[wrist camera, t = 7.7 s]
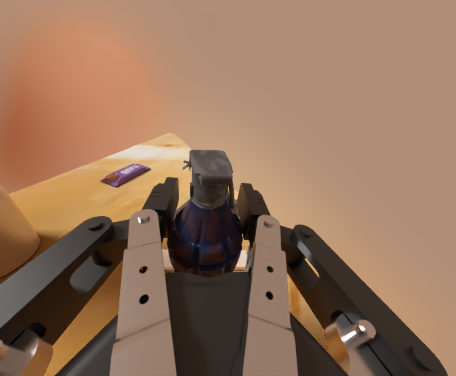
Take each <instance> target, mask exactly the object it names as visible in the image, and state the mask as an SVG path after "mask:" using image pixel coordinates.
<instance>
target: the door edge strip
mask: <svg viewBox="0 0 456 376" xmlns="http://www.w3.org/2000/svg"><path fill="white" fill-rule="evenodd" d="M162 252H163V261H164V269H165V270H174V268H173V266H172V264H171V262H170V258H169V253H168V249H162ZM246 259H247V254H246V250H241V254H240V257H239V260H238V263H237V265H236V267H235V269H234V270H245V265H246Z"/></svg>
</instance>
